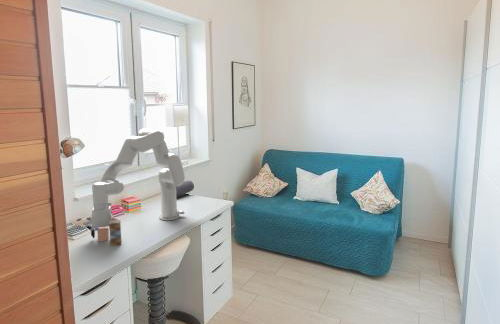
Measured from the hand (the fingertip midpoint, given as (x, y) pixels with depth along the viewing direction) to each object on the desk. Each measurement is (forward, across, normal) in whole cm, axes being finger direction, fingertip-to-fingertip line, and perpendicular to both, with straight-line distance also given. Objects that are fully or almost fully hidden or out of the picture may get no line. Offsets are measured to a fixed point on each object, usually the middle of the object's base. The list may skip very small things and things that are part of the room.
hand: (103, 236), depth 194 cm
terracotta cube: (+2, 0, 0) cm, 2 cm away
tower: (+2, -7, +8) cm, 11 cm away
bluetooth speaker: (+2, -47, -77) cm, 90 cm away
